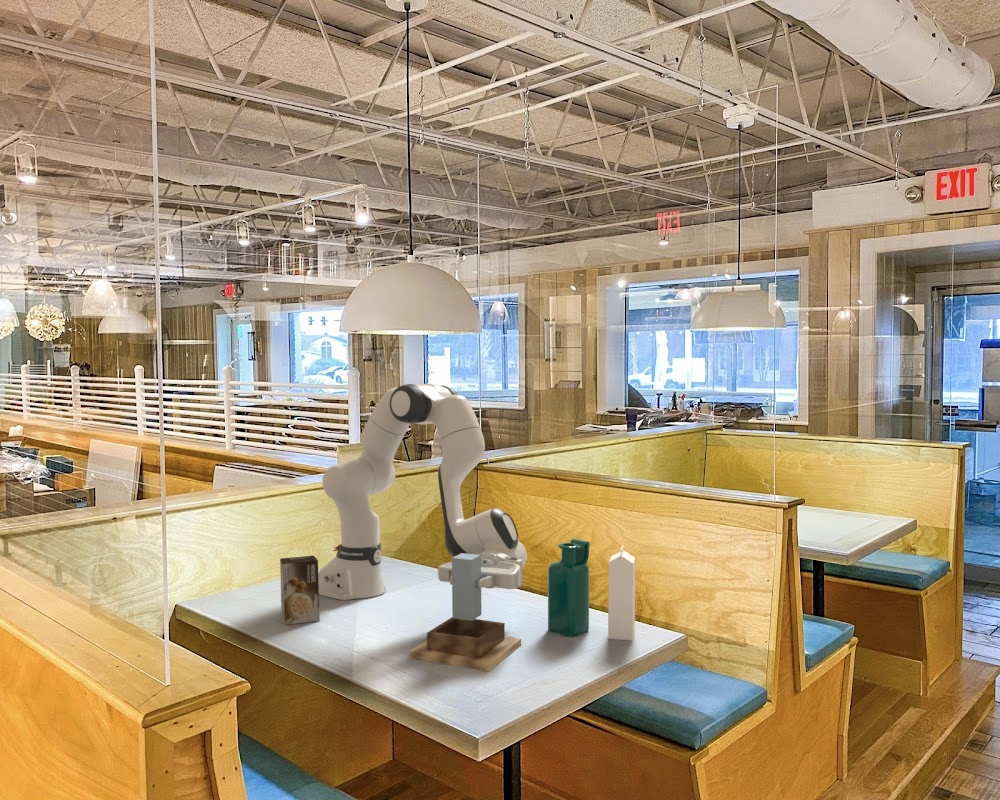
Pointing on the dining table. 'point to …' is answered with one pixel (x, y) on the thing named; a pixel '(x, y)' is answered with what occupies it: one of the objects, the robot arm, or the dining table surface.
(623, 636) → the milk
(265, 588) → the dining table surface
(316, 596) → the coffee box
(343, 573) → the robot arm
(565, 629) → the green tall squared bottle
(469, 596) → the grey block
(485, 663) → the caddy
